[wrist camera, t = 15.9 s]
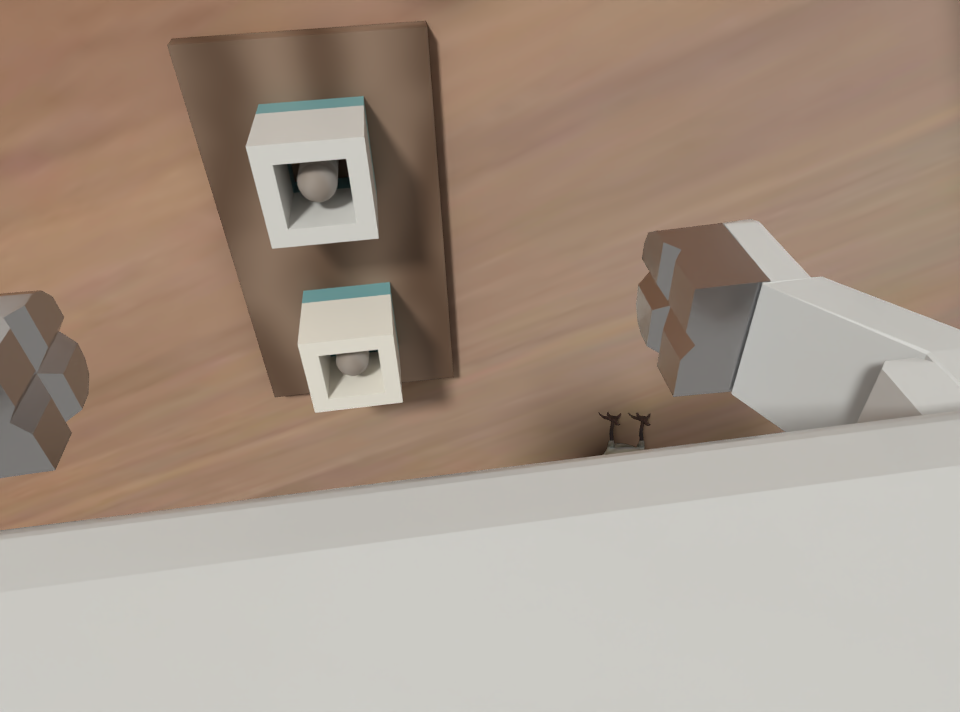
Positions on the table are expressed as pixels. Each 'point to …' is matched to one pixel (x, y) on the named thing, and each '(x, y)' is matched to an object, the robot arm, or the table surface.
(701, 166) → the table surface
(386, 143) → the pin board
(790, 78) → the table surface
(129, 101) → the table surface
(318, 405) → the cream sleeve
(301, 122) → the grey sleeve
